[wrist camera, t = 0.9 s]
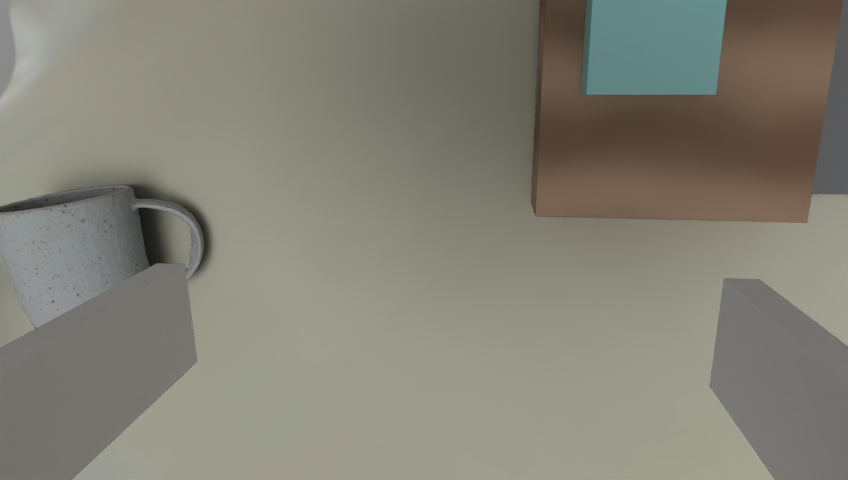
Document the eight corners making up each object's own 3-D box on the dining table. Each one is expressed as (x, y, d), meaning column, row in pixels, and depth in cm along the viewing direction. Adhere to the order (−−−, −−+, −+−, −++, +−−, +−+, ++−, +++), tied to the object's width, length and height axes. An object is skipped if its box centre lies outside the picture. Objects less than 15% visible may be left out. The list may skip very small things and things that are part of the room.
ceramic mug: (83, 305, 41) (-5, 350, 34) (51, 192, 39) (-49, 213, 32) (223, 290, 40) (163, 333, 32) (196, 172, 38) (127, 190, 31)
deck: (550, -208, 30) (558, -252, 27) (835, -224, 29) (887, -274, 25) (531, 203, 36) (535, 216, 32) (771, 208, 34) (806, 223, 30)
